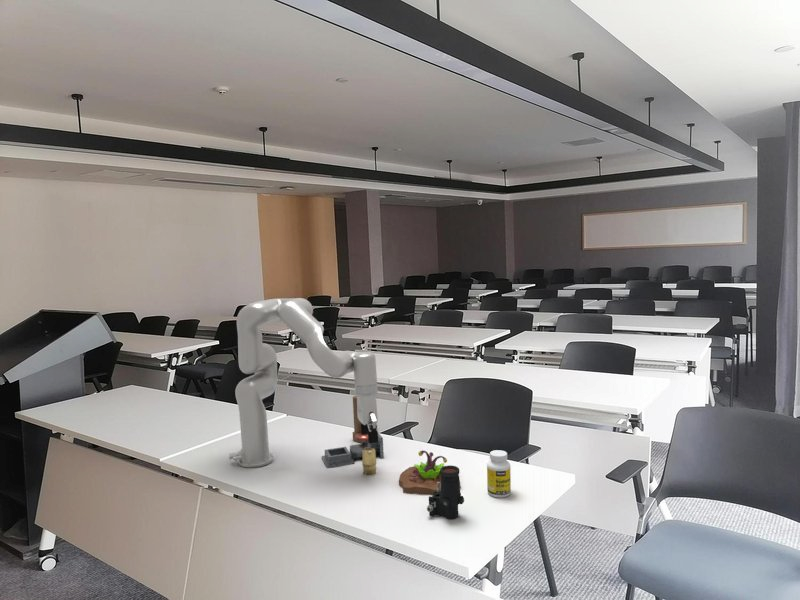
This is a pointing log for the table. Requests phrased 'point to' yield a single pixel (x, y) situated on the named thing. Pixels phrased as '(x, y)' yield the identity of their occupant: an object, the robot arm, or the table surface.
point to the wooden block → (357, 421)
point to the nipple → (369, 461)
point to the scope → (446, 494)
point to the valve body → (351, 452)
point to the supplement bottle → (498, 474)
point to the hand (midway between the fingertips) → (369, 438)
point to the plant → (422, 476)
